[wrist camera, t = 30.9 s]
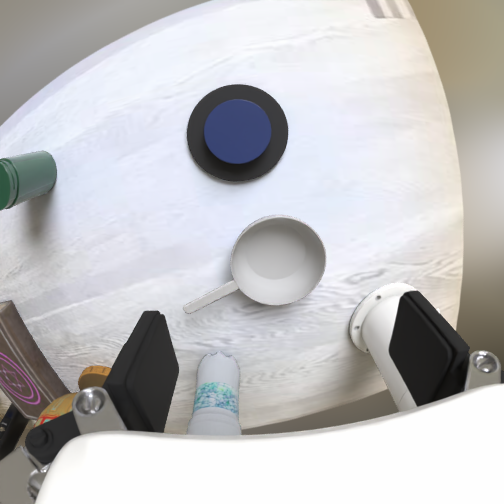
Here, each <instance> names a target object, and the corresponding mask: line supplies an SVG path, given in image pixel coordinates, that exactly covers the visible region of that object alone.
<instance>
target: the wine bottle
mask: <svg viewBox="0 0 504 504" xmlns="http://www.w3.org/2000/svg"><path fill="white" fill-rule="evenodd" d="M28 421H29V419H28V418H25V417H24V416H23V415H22V413H21V412H20V411H19V410H18V409H17V408H16V407H15V405H14V404H13V403H12V404H11V405H10V407H9V409H8V410H7V412H6V414H5V415H4V417H3V419H2V421H1V422H0V461H1V460H2V459H3V458H5V457H6V456H7V455H9V454H10V453H11V452H12V451H14V449H15V447H16V445H17V443H18V441H19V438H20V437H21V435H22V433H23V431H24V429H25V427H26V425H27V423H28Z"/></svg>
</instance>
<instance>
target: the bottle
mask: <svg viewBox="0 0 504 504" xmlns="http://www.w3.org/2000/svg"><path fill="white" fill-rule="evenodd" d="M239 384H240V368H239V366H238V365H237V362H236V360H235V358H234V357H233V356H231V355H229V356H228V357H226V356H225V355H224V354H223V352H217V353H216V354H215V355H213V356H212V355H211V354H207V355H205V357H204V358H203V360H202V361H201V363H200V364H199V367H198V371H197V384H196V393H195V400H194V406H193V413H192V418H191V419H190V420H189V423H188V429H187V435H242V434H241V425H240V423H239Z"/></svg>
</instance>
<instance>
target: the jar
mask: <svg viewBox="0 0 504 504" xmlns="http://www.w3.org/2000/svg"><path fill="white" fill-rule="evenodd" d="M56 175H57V169H56V164H55V161H54V159H53V157H52V156H51V155H50V154H49V153H48V152H46V151H38V152H32V153H27V154H21V155H16V156H12V157H7V158H2V159H0V210H3V209H9V208H11V207H14V206H16V205H18V204H20V203H23V202H25V201H28V200H30V199H32V198H35V197H37V196H40V195H42V194H45V193H47V192H49V191H50V190H51V189H52V187H53V186H54V183H55V181H56Z"/></svg>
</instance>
